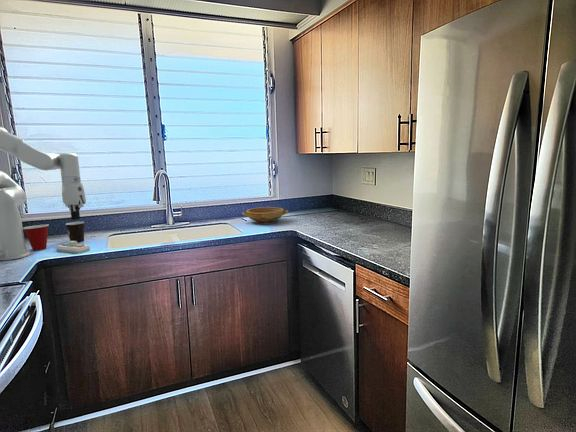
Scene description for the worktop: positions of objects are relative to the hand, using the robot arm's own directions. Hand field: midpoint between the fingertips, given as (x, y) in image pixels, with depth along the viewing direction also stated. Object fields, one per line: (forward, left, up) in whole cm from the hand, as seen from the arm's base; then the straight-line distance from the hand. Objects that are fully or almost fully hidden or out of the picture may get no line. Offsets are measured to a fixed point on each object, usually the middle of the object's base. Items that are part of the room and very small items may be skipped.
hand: (75, 219), depth 173 cm
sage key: (0, +4, -13) cm, 14 cm away
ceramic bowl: (+88, -56, -16) cm, 106 cm away
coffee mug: (+13, +19, -16) cm, 28 cm away
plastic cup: (-3, +25, -16) cm, 30 cm away
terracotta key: (0, 0, -14) cm, 14 cm away
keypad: (0, +4, -16) cm, 16 cm away
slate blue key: (0, +9, -14) cm, 17 cm away
